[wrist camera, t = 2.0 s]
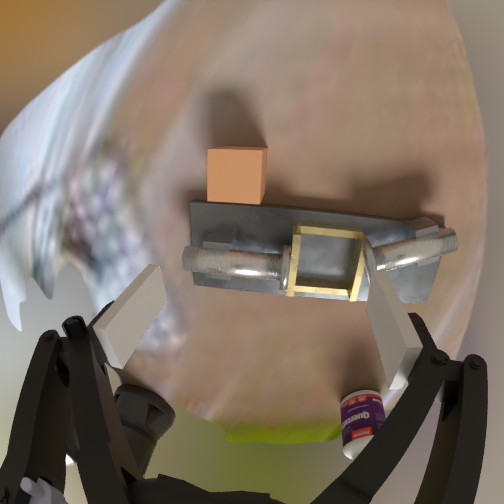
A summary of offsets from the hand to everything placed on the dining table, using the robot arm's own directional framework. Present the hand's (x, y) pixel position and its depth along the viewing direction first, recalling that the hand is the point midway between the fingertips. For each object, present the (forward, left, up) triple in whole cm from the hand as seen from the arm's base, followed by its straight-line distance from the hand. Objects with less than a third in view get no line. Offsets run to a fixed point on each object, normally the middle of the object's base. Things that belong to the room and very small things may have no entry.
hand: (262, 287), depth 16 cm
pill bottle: (+19, -34, -17) cm, 42 cm away
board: (+6, -5, -17) cm, 18 cm away
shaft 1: (-4, -5, -15) cm, 17 cm away
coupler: (-4, +5, -17) cm, 18 cm away
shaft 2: (+15, -2, -15) cm, 22 cm away
